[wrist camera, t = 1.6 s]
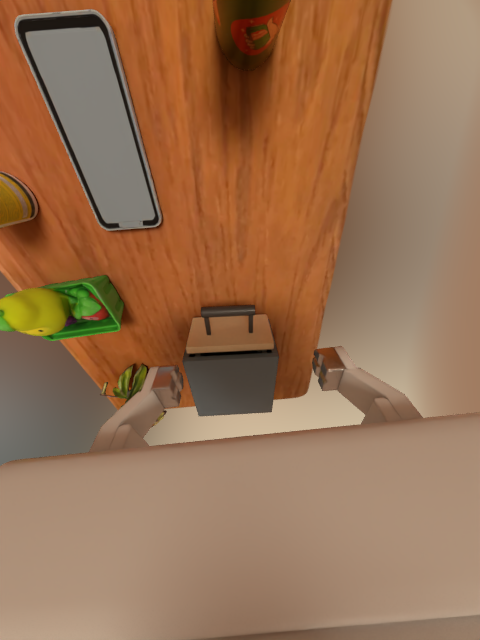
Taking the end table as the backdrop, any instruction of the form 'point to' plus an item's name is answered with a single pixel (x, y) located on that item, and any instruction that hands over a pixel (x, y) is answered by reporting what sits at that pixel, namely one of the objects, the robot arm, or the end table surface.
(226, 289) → the end table surface
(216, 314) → the drawer
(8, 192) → the supplement bottle
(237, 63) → the soda can
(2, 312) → the fruit basket
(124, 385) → the passion flower
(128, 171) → the smartphone
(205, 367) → the cabinet
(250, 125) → the end table surface
